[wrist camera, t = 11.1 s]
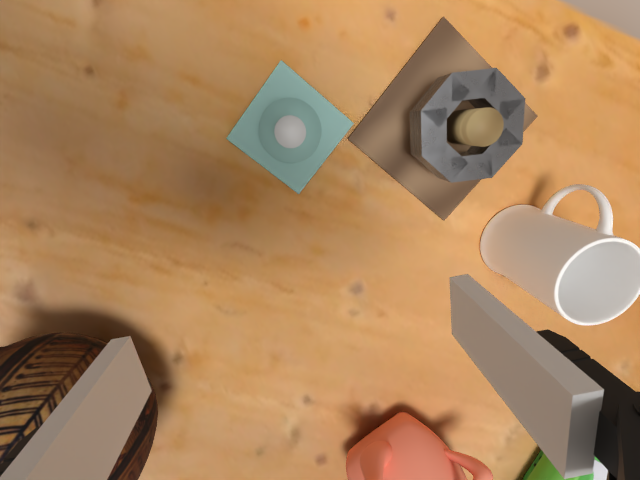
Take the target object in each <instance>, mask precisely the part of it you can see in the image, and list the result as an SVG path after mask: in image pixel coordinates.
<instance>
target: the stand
mask: <svg viewBox="0 0 640 480" xmlns="http://www.w3.org/2000/svg"><path fill="white" fill-rule="evenodd" d="M353 124H354V123H353V122H352V121H351V120H349V119H348V118H347V117H346V116H345V115H344V114H342V113H341V112H340V111H339V110H338V109H337V108H336V107H334V106H333V105H332V104H331V103H330V102H329V101H328V100H326V99H325V98H324V97H323V96H322V95H321V94H320V93H318V92H317V91H316V90H315V89H314V88H313V87H311V86H310V85H309V84H308V83H307V82H306V81H305V80H303V79H302V78H301V77H300V76H299V75H298V74H297V73H295V72H294V71H293V70H292V69H291V68H290V67H288V66H287V65H286V64H285V63H284V62H283V61H282V60H281V61H280V62H279V64H278V65H277V67H276V68H275V69H274V71H273V72H272V74H271V75H270V77H269V78H268V79H267V81H266V82H265V84H264V85H263V87H262V88H261V89H260V91H259V92H258V94H257V95H256V97H255V98H254V99H253V101H252V102H251V104H250V105H249V107H248V108H247V109H246V111H245V112H244V114H243V115H242V117H241V118H240V119H239V121H238V122H237V124H236V125H235V127H234V128H233V129H232V131H231V132H230V134H229V135H228V137H227V138H226V139H227V140H229V141H230V142H231V143H233V144H234V145H235V146H236V147H238V148H239V149H240V150H242V151H243V152H244V153H246V154H247V155H248V156H250V157H251V158H252V159H253V160H255V161H256V162H257V163H259V164H260V165H261V166H263V167H264V168H265V169H267V170H268V171H269V172H270V173H272V174H273V175H274V176H276V177H277V178H278V179H280V180H281V181H282V182H284V183H285V184H286V185H287V186H289V187H290V188H291V189H293V190H294V191H295V192H297V193H298V194H299V193H300V192H301V191H302V189H303V188H304V187H305V186H306V184H307V183H308V182H309V180H310V179H311V178H312V177H313V175H314V174H315V173H316V171H317V170H318V169H319V168H320V166H321V165H322V164H323V162H324V161H325V160H326V159H327V157H328V156H329V155H330V153H331V152H332V151H333V150H334V148H335V147H336V146H337V144H338V143H339V142H340V141H341V139H342V138H343V137H344V135H345V134H346V133H347V132H348V130H349V129H350V128H351V126H352V125H353Z"/></svg>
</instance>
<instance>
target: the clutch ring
mask: <svg viewBox="0 0 640 480" xmlns="http://www.w3.org/2000/svg"><path fill="white" fill-rule="evenodd" d="M466 100H468V101H469V102H470V103H471V104H472V105H473V106H474V107H475V108H476V109H477V108H487V107H489V108H494V109H496V110H497V111H498V112H499V113H500V114H501V115H502V118H503V122H504V127H503V131H502V134H501V136H500V137H499V139H498V140H497V141H496V142H494V143H493V144H491V145H489V146H485V147H480V146H471V147H470V148H469V149H468V151H467V152H459V153H457V152H456V151H455V150H454V149H453V148H452V147H451V146H450V145H449V144H448V143H447V118H448V117H449V116H450V115H451V113H452V112H453V111H454V110H455V109H456V107H457V106H458V105H459V104H460V103H461V101H466ZM524 110H525V98H524V97H523V96H522V95H521V93H520V92H519V91H518V90H517V89H516V88H515V87H514V86H513V85H512V84H511V83H510V82H509V81H508V80H507V79H506V77H505V76H504V75H503V74H502V73H501V72H500V71H499V70H498V69H497V68H490V69H481V70H472V71H463V72H454V73H450V74H447V75H444V76H441V77H438V78H437V79H436V80H435V81H434V83H433V84H432V85H431V86H430V87H429V89H428V90H427V91H426V92H425V94H424V95H423V96H422V97H421V99H420V100H419V101H418V102H417V103H416V105H415V106H414V107H413V108H412V110H411V111H410V147H411V154H412V155H413V156H414V157H415V158H416V159H417V160H418V161H419V162H421V163H422V164H423V165H424V166H425V167H426V168H427V169H428V170H430V171H431V172H432V173H433V174H434V175H435V176H436V177H437V178H439V179H442V180H445V181H448V182H451V183H453V182H461V181H469V180H477V179H485V178H492V177H493V176H494V175H495V174H496V172H497V171H498V170H499V169H500V168H501V167H502V166H503V165H504V164H505V162H506V161H507V160H508V159H509V158H510V157H511V156H512V155H513V154H514V153H515V151H516V150H517V149H518V148H519V147H520V146H521V145H522V140H523V125H524Z"/></svg>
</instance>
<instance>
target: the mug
mask: <svg viewBox="0 0 640 480" xmlns="http://www.w3.org/2000/svg"><path fill="white" fill-rule="evenodd" d="M576 190H586V191H588V192H590V193H591V194H592V195H593V196H594V197H595V199H596V201H597V203H598V206H599V211H600V219H599V223H598V226H597V228H596V229H593V228H590V227H587V226H584V225H581V224H578V223H575V222H572V221H569V220H566V219H563V218H560V217H557V216H554V215H552V214H553V211H554V208H555V206H556V205H557V203H558V202H559V201H560V200H561V199H562V198H563V197H564V196H566V195H567V194H569V193H570V192H573V191H576ZM612 227H613V214H612V209H611V206H610V203H609V201H608V200H607V198H606V197H605V195H604V194H603V193H602V192H601V191H599V190H598V189H596V188H594V187H592V186H588V185H582V184H576V185H570V186H567V187H565V188H563V189H561V190H559V191H558V192H556V193H555V194H554V195H553V196H552V197H551V198H550V199H549V200H548V201H547V202H546V204H545V205H544V207H543V208H542V210H541V209H539V208H537V207H534V206H531V205H514V206H511V207H508V208H506V209H504V210H502V211H500V212H499V213H498V214H496V215H495V216H494V217H493V218H492V219H491V220H490V221H489V223H488V224H487V225H486V227H485V229H484V231H483V233H482V236H481V241H480V252H481V256H482V259H483V261H484V262H485V264H486V265H487V266H488V267H489V268H490V269H491V270H493V271H494V272H496V273H499V274H502V275H503V276H505V277H506V278H508V279H509V280H511V281H512V282H514V283H515V284H516V285H518V286H519V287H521V288H522V289H524V290H525V291H527V292H528V293H529V294H531V295H532V296H534V297H535V298H537V299H538V300H539V301H541V302H542V303H544V304H545V305H547V306H548V307H550V308H551V309H552V310H554V311H555V312H557V313H558V314H560V315H561V316H562V317H564V318H565V319H567V320H569V321H570V322H573V323H575V324H579V325H597V324H601V323H604V322H607V321H609V320H612V319H614V318H615V317H617V316H619V315H620V314H622V313H623V312H624V311H625V310H627V309H628V308H629V307H630V306H631V305H632V304H633V302H634V301H635V300H636V299H637V297H638V296H639V294H640V249H639V248H638V247H637V246H636V245H635V244H634V243H632V242H630V241H628V240H625V239H623V238H620V237H617V236H614V235H613V233H612Z"/></svg>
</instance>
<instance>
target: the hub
mask: <svg viewBox="0 0 640 480" xmlns="http://www.w3.org/2000/svg"><path fill="white" fill-rule="evenodd" d="M490 68H492V67H491V66H490V65H489V64H488V63H487V62H486V61H485V60H484V59H483V58H482V57H481V56H480V55H479V53H478V52H477V51H476V50H475V49H474V48H473V47H472V46H471V45H470V44H469V43H468V42H467V41H466V40H465V39H464V38H463V37H462V36H461V34H460V33H459V32H458V31H457V30H456V29H455V28H454V27H453V26H452V25H451V24H450V23H449V22H448V21H447V20H446V19H445V18H444V17H443V18H442V19H441V20H440V21H439V22H438V24H437V25H436V26H435V27H434V29H433V30H432V31H431V33H430V34H429V35H428V36H427V38H426V39H425V40H424V42H423V43H422V44H421V45H420V47H419V48H418V49H417V50H416V52H415V53H414V54H413V56H412V57H411V58H410V59H409V61H408V62H407V63H406V65H405V66H404V67H403V68H402V70H401V71H400V72H399V74H398V75H397V76H396V77H395V79H394V80H393V81H392V82H391V84H390V85H389V86H388V88H387V89H386V90H385V91H384V93H383V94H382V95H381V97H380V98H379V99H378V100H377V102H376V103H375V104H374V106H373V107H372V108H371V109H370V111H369V112H368V113H367V114H366V116H365V117H364V118H363V120H362V121H361V122H360V123H359V125H358V126H357V127H356V129H355V130H354V131H353V132H352V134H351V135H350V136H349V138H348V140H350V141H351V142H352V143H353V144H354V145H355V146H357V147H358V148H359V149H360V150H361V151H362V152H364V153H365V154H366V155H367V156H368V157H370V158H371V159H372V160H373V161H374V162H375V163H377V164H378V165H379V166H380V167H381V168H382V169H384V170H385V171H386V172H387V173H388V174H390V175H391V176H392V177H393V178H394V179H395V180H397V181H398V182H399V183H400V184H401V185H402V186H404V187H405V188H406V189H407V190H408V191H410V192H411V193H412V194H413V195H414V196H415V197H417V198H418V199H419V200H420V201H421V202H422V203H424V204H425V205H426V206H427V207H428V208H429V209H431V210H432V211H433V212H434V213H435V214H437V215H438V216H439V217H440V218H441V219H442V220H445V219H446V218H447V217H448V216H449V215H450V214H451V212H452V211H453V210H454V209H455V208H456V207H457V206H458V205H459V204H460V202H461V201H462V200H463V199H464V198H465V197H466V196H467V195H468V193H469V192H470V191H471V190H472V189H473V188H474V187H475V186H476V185H477V183H478V182H479V181H480V180H481V179H477V180H469V181H461V182H453V183H451V182H448V181H445V180H442V179H439V178H437V177H436V176H435V175H434V174H433V173H432V172H431V171H430V170H428V169H427V168H426V167H425V166H424V165H423V164H422V163H421V162H419V161H418V160H417V159H416V158H415V157H414V156H413V155H412V154H411V147H410V111H411V110H412V108H413V107H414V106H415V105H416V103H417V102H418V101H419V100H420V99H421V97H422V96H423V95H424V94H425V92H426V91H427V90H428V89H429V87H430V86H431V85H432V84H433V83H434V81H435V80H436V79H437V78H438V77H441V76H444V75H447V74H450V73H454V72H463V71H472V70H481V69H490ZM536 117H537V115H536V114H535V113H534V112H533V111H532V110H531V108H530V107H529V106H528V105H527V104H526V103H525V110H524V125H523V132H524V131H525V130H526V129H527V127H528V126H529V125H530V124H531V123H532V122H533V121H534V120H535V119H536ZM503 127H504V122H503V118H502V115H501V114H500V113H499V112H498V111H497V110H496V109H494V108H489V107H487V108H477V109H476V108H475V107H474V106H473V105H472V104H471V103H470V102H469V101H468V100H466V101H461V103H460V104H459V105H458V106H457V107H456V109H455V110H454V111H453V112H452V113H451V115H450V116H449V117H448V118H447V143H448V144H449V145H450V146H451V147H452V148H453V149H454V150H455V151H456V152H457V153H459V152H467V151H468V149H469V148H470V147H471V146H480V147H485V146H489V145H491V144H493V143H494V142H496V141H497V140H498V139H499V137H500V136H501V134H502V131H503Z"/></svg>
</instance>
